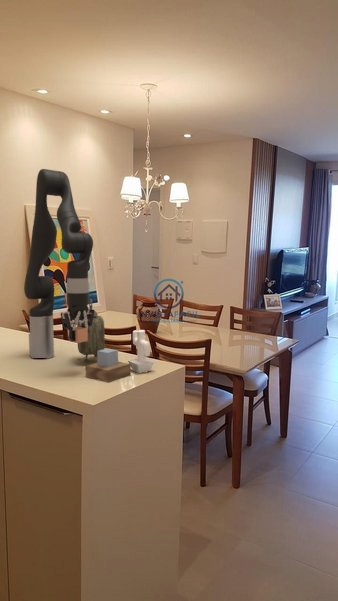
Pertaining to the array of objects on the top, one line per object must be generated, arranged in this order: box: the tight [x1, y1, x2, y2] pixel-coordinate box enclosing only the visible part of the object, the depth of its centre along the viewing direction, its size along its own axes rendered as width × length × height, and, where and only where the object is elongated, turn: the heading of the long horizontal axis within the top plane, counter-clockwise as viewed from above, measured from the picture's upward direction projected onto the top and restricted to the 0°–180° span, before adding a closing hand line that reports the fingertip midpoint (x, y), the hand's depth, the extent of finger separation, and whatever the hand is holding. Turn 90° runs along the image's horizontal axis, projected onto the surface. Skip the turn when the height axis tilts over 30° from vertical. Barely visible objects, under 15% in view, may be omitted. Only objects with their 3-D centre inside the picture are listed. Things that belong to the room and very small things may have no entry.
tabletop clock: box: [76, 298, 106, 363], centre depth 179 cm, size 14×9×25 cm, turn 16°
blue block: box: [96, 348, 119, 367], centre depth 159 cm, size 5×5×5 cm
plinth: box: [85, 361, 132, 383], centre depth 159 cm, size 11×11×4 cm
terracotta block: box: [68, 326, 88, 344], centre depth 159 cm, size 4×4×4 cm
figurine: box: [127, 329, 156, 374], centre depth 165 cm, size 7×9×15 cm
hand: (78, 339), depth 159 cm, fingers closed on terracotta block, 4 cm apart
